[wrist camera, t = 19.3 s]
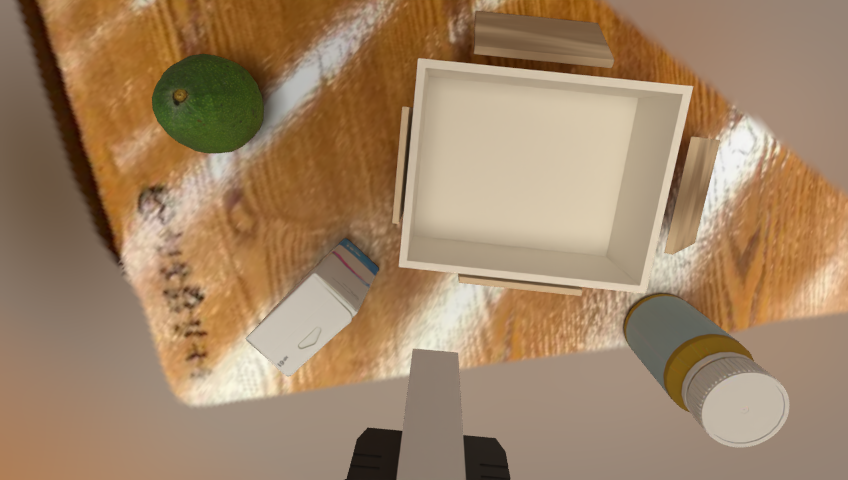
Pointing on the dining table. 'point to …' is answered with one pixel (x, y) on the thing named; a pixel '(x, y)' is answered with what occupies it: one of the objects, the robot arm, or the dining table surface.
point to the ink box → (315, 308)
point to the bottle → (706, 371)
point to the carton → (536, 176)
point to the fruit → (208, 104)
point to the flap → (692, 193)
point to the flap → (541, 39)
